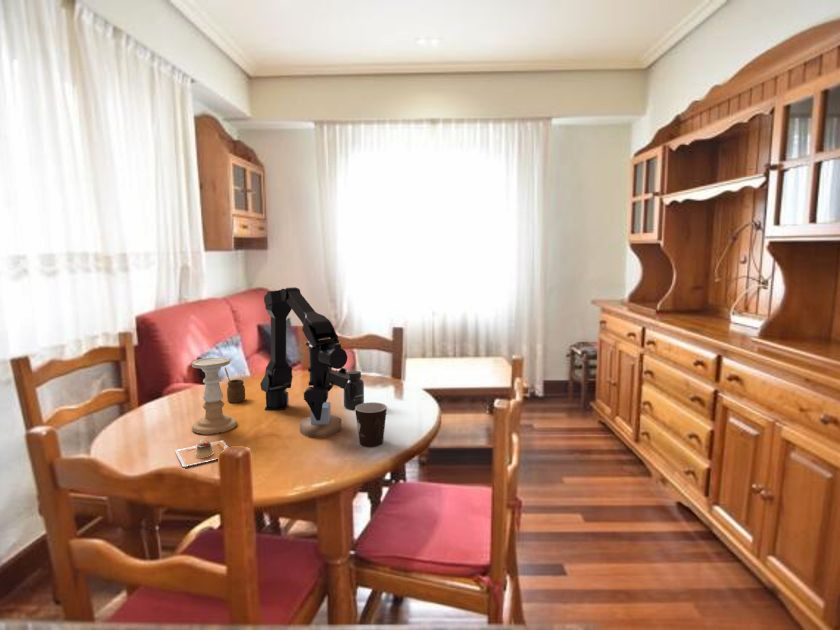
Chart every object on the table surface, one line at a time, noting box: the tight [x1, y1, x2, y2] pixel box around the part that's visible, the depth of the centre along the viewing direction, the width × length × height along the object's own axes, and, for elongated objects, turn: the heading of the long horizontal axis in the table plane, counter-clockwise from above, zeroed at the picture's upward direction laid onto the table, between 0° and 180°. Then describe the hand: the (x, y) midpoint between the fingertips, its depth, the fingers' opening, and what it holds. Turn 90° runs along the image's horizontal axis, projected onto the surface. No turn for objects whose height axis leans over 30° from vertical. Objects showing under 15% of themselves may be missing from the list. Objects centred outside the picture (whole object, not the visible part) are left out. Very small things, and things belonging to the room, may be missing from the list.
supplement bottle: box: [343, 370, 365, 410], centre depth 160 cm, size 7×7×12 cm
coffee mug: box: [354, 401, 388, 448], centre depth 128 cm, size 12×9×10 cm
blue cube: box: [309, 401, 332, 425], centre depth 139 cm, size 5×5×5 cm
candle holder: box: [191, 356, 238, 435], centre depth 140 cm, size 12×12×20 cm
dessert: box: [174, 438, 229, 468], centre depth 122 cm, size 12×12×5 cm
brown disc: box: [299, 414, 343, 438], centre depth 139 cm, size 12×12×2 cm
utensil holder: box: [224, 366, 246, 404], centre depth 167 cm, size 6×6×12 cm
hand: (320, 414), depth 139 cm, fingers open, 9 cm apart
